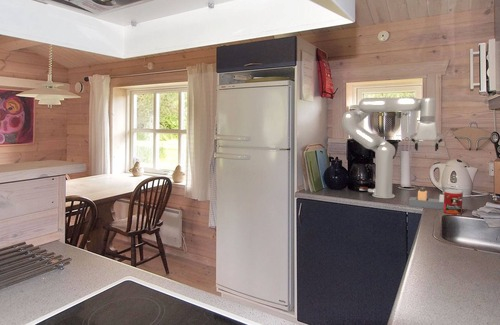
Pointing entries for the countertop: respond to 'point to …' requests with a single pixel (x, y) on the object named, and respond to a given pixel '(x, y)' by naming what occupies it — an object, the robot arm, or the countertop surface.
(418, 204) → the power strip
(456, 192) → the canned food
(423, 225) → the countertop surface
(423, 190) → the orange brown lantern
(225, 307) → the countertop surface
